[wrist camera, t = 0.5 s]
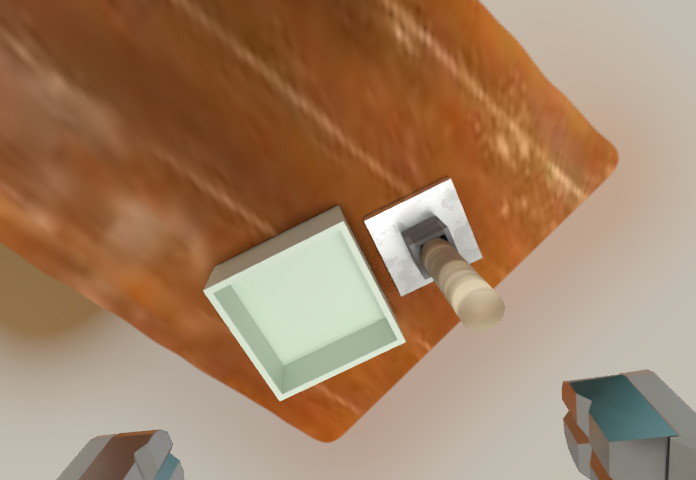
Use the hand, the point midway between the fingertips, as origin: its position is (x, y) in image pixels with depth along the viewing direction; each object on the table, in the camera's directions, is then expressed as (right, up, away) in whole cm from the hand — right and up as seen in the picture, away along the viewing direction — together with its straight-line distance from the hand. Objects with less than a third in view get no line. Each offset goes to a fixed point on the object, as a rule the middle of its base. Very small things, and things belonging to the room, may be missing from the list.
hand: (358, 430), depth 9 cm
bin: (-6, -3, +49) cm, 50 cm away
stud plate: (+10, +4, +48) cm, 49 cm away
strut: (+10, +4, +47) cm, 48 cm away
